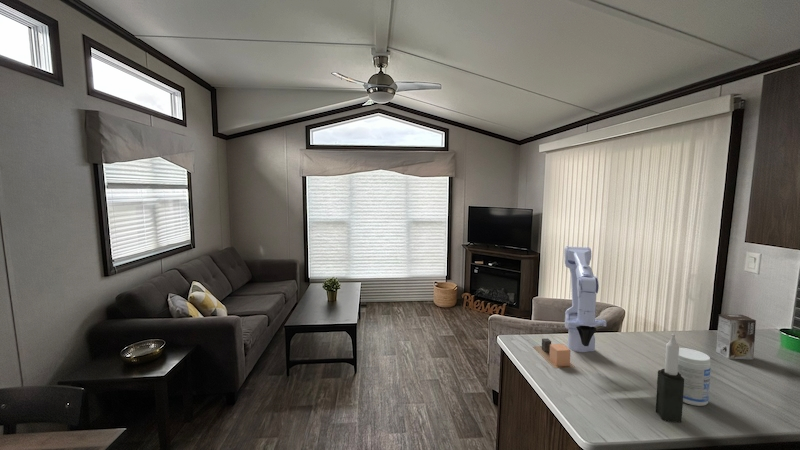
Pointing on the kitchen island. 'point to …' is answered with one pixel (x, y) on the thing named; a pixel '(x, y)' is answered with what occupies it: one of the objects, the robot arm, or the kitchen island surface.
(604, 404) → the kitchen island surface
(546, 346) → the stand
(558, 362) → the peach cube
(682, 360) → the supplement tub
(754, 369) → the kitchen island surface
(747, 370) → the kitchen island surface
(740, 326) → the printed cardboard box
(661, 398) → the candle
